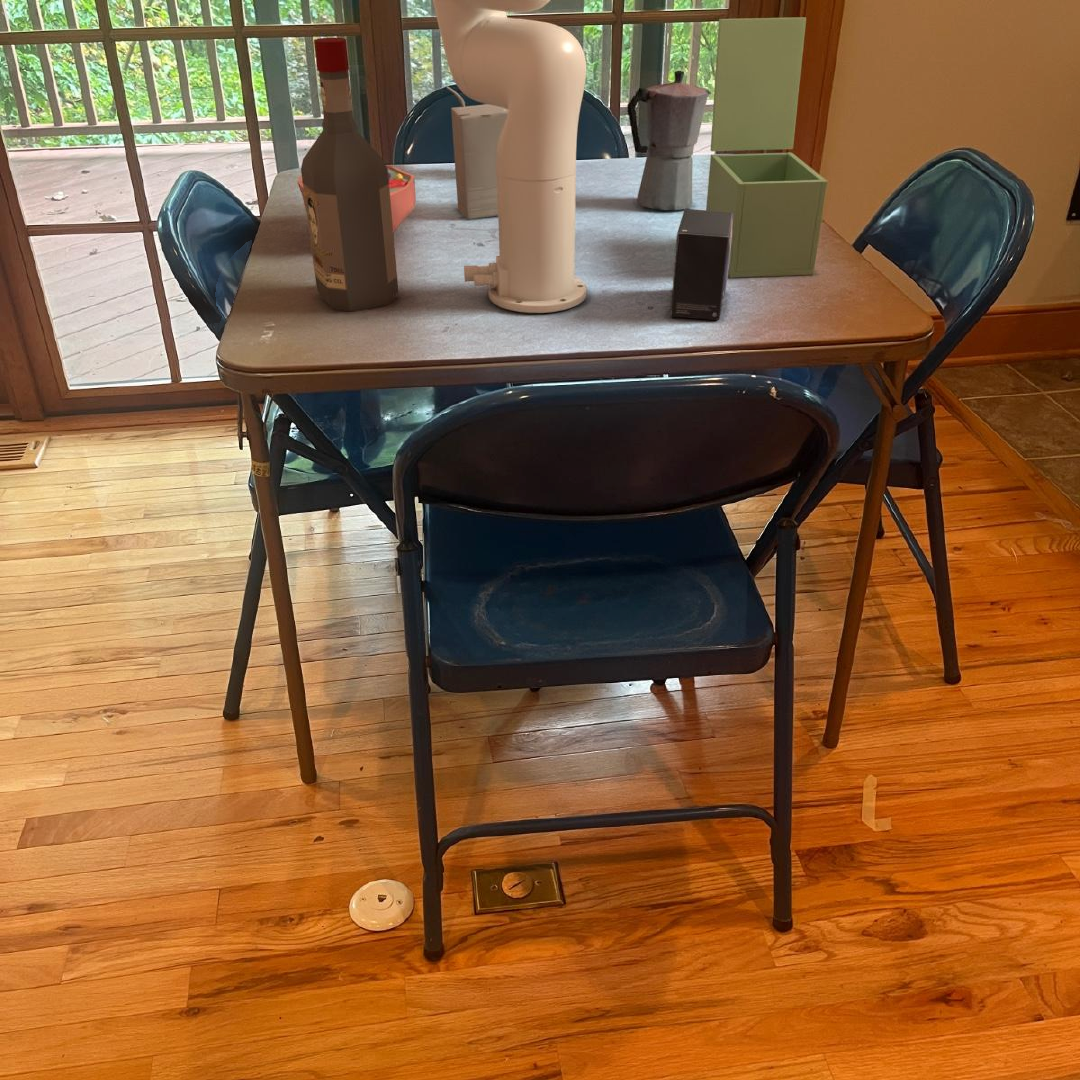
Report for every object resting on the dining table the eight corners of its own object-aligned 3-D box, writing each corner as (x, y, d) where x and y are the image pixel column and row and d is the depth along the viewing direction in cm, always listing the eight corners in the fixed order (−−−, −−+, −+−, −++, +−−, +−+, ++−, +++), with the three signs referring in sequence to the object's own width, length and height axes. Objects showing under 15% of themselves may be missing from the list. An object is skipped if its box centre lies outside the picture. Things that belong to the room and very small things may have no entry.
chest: (813, 274, 135) (827, 181, 128) (729, 278, 134) (738, 183, 127) (780, 239, 148) (791, 152, 141) (703, 241, 147) (710, 154, 140)
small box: (722, 322, 121) (731, 235, 116) (668, 318, 122) (674, 232, 117) (727, 291, 130) (735, 209, 124) (676, 288, 131) (682, 207, 125)
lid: (806, 17, 132) (804, 17, 133) (720, 19, 132) (718, 19, 132) (793, 149, 140) (791, 148, 141) (711, 151, 140) (710, 150, 140)
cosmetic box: (504, 204, 164) (502, 100, 155) (517, 216, 158) (515, 109, 149) (454, 209, 162) (448, 104, 153) (465, 221, 156) (460, 113, 147)
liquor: (380, 281, 134) (355, 32, 117) (404, 303, 127) (382, 42, 111) (313, 292, 131) (279, 37, 114) (334, 315, 124) (301, 48, 107)
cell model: (306, 261, 141) (294, 178, 134) (304, 220, 157) (293, 145, 151) (425, 253, 144) (420, 171, 137) (411, 213, 160) (406, 139, 154)
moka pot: (718, 204, 163) (731, 70, 152) (645, 220, 156) (652, 81, 145) (680, 191, 170) (689, 62, 158) (608, 206, 163) (612, 72, 151)
